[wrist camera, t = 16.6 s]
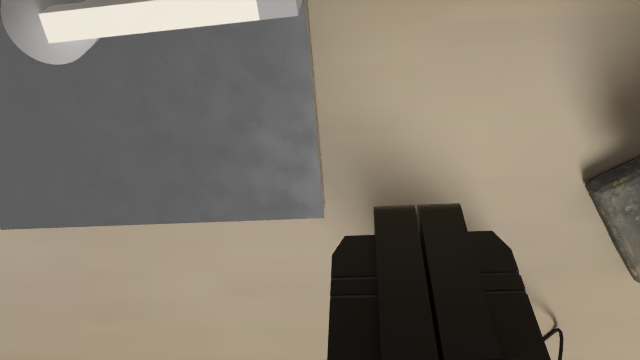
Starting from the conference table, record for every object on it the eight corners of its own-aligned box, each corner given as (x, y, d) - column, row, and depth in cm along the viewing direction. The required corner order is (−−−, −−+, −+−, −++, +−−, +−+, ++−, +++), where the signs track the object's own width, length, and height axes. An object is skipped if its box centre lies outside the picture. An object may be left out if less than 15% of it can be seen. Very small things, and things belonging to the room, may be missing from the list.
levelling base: (-127, -135, 35) (-210, -125, 30) (292, -171, 33) (281, -167, 28) (13, 214, 47) (-28, 263, 42) (324, 202, 45) (321, 252, 40)
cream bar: (43, 51, 38) (8, 78, 34) (12, -33, 35) (-30, -13, 31) (307, 22, 36) (302, 47, 32) (295, -68, 34) (288, -52, 30)
